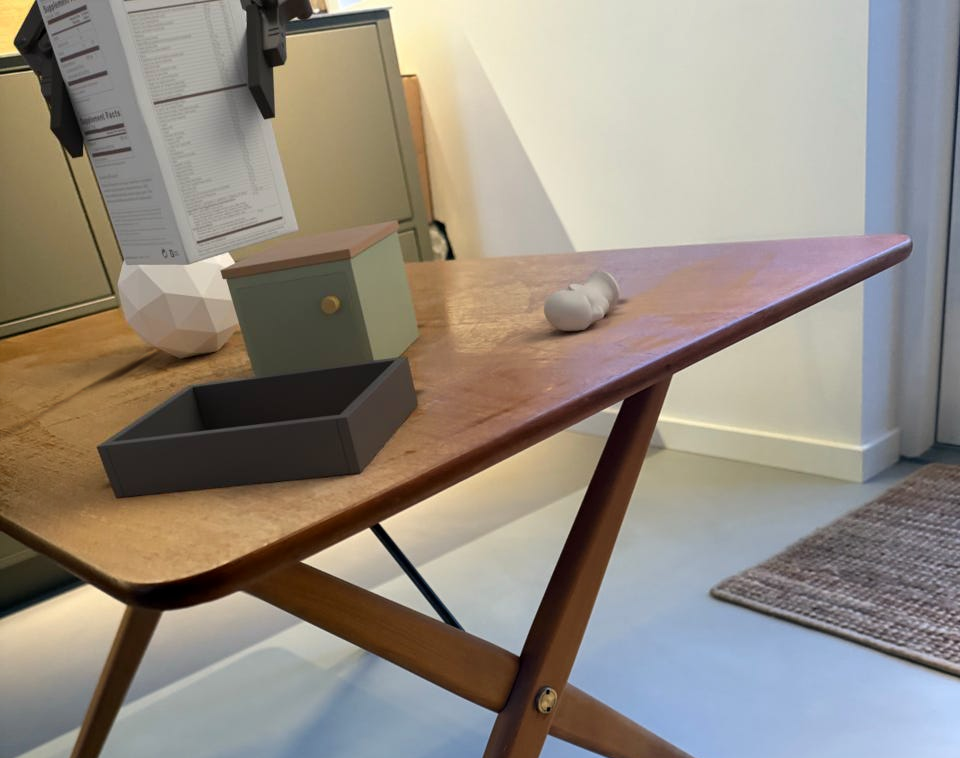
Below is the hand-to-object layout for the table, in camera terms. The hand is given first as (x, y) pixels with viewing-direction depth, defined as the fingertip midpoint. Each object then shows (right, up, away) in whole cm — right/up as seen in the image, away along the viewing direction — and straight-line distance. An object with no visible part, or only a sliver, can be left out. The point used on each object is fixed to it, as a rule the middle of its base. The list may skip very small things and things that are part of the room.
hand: (163, 123), depth 66 cm
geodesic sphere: (-12, 0, +53) cm, 54 cm away
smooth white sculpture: (+31, -4, +30) cm, 43 cm away
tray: (+4, -19, +13) cm, 23 cm away
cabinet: (+7, -6, +34) cm, 35 cm away
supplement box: (+2, -6, +6) cm, 9 cm away
